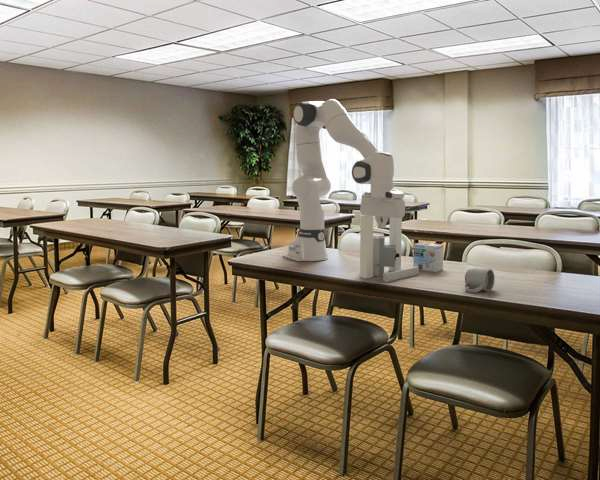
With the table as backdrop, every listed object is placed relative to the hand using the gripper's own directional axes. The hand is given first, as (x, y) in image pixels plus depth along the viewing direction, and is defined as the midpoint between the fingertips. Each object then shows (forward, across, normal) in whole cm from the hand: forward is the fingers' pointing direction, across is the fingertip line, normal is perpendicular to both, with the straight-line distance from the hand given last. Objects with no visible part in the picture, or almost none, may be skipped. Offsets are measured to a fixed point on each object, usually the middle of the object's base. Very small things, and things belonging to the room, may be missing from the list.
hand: (381, 227), depth 212 cm
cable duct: (+19, +10, 0) cm, 21 cm away
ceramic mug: (+19, +41, +2) cm, 45 cm away
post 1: (+19, 0, -9) cm, 21 cm away
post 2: (+19, 0, +9) cm, 21 cm away
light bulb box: (+19, +8, +21) cm, 29 cm away
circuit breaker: (+19, 0, 0) cm, 19 cm away
